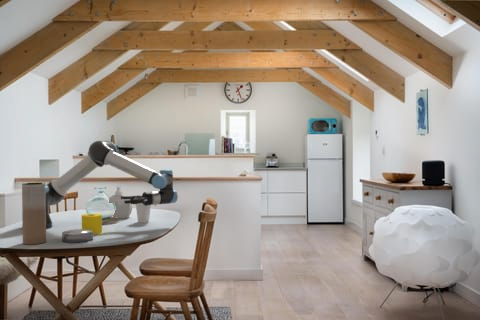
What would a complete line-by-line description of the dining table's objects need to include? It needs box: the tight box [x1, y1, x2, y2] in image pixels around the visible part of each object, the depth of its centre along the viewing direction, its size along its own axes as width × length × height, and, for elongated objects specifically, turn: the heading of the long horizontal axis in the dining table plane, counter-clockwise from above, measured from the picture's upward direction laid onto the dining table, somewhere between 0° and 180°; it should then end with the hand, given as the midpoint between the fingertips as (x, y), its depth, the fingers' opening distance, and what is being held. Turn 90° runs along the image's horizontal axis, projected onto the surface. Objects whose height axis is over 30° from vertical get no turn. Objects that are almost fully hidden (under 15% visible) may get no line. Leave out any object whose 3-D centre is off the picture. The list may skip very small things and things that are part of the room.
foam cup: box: [134, 203, 152, 224], centre depth 271 cm, size 10×9×13 cm
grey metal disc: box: [61, 228, 94, 244], centre depth 218 cm, size 14×14×4 cm
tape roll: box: [81, 213, 103, 236], centre depth 236 cm, size 10×10×9 cm
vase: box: [21, 182, 47, 246], centre depth 212 cm, size 10×10×28 cm
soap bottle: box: [109, 185, 133, 219], centre depth 288 cm, size 16×5×20 cm, turn 89°
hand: (113, 201), depth 242 cm, fingers open, 13 cm apart
